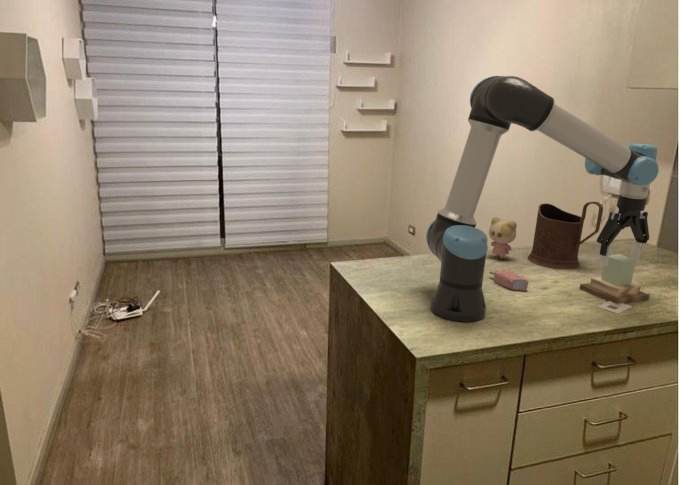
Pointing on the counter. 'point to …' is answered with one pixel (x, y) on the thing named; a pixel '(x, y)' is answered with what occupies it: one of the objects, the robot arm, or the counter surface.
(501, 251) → the toy
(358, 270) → the counter surface
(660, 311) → the counter surface
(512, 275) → the ice cream bar
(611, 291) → the base brick
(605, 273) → the sage brick
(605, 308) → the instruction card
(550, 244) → the cup holder
